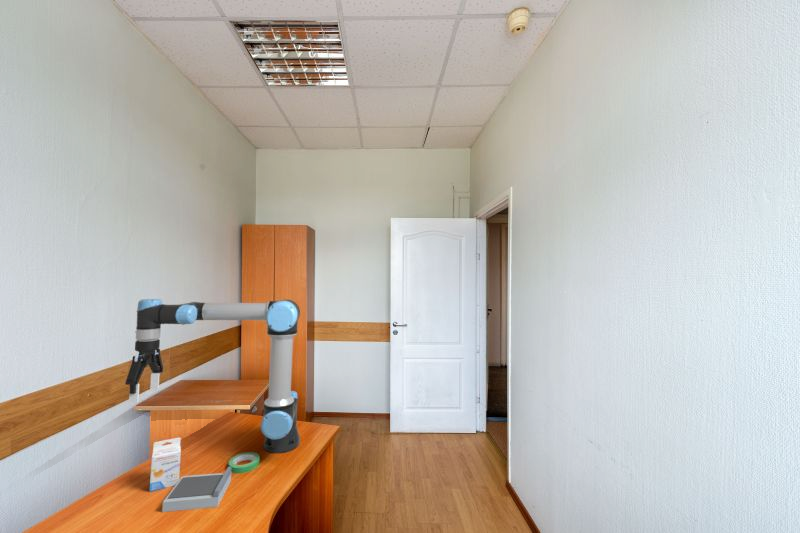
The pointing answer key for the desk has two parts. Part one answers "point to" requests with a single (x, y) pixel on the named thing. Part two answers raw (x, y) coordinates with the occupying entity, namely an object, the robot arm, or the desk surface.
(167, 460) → the ink box
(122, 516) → the desk surface
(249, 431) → the desk surface
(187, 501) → the dock
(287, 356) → the robot arm
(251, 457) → the tape roll
